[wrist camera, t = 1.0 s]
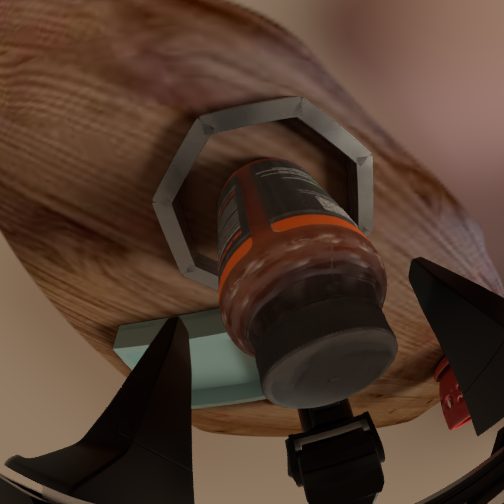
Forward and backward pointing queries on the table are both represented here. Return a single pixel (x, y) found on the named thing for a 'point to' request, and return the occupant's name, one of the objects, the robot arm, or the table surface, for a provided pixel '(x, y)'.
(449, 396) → the plant pot
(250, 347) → the supplement bottle
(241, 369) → the tray
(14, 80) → the table surface
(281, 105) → the holder ring
